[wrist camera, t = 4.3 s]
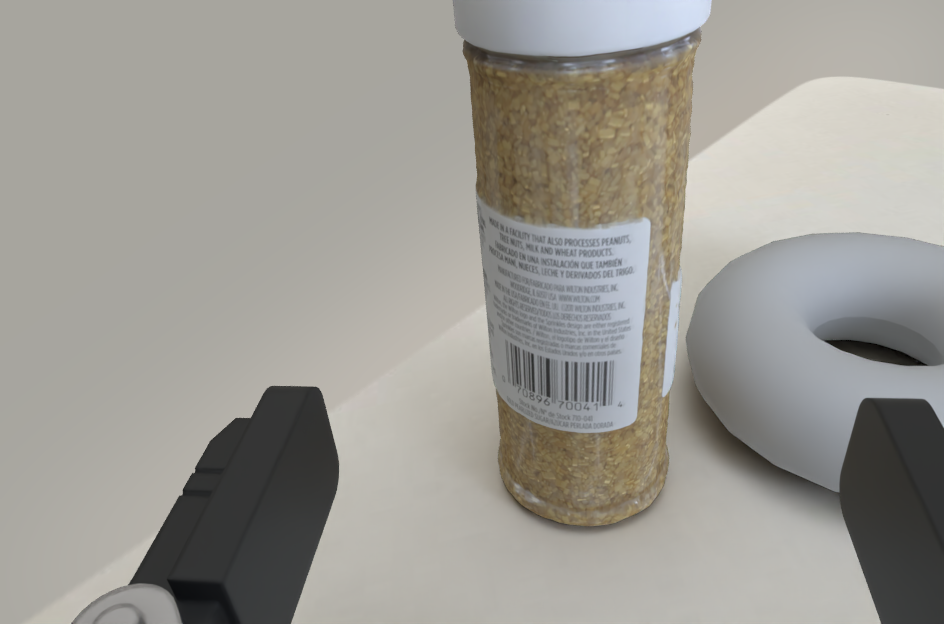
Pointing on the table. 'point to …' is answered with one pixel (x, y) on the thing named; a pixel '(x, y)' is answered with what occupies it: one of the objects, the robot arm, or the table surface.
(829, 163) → the table surface
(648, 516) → the table surface
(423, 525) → the table surface
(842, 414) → the donut
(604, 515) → the sprinkles bottle
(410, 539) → the table surface
